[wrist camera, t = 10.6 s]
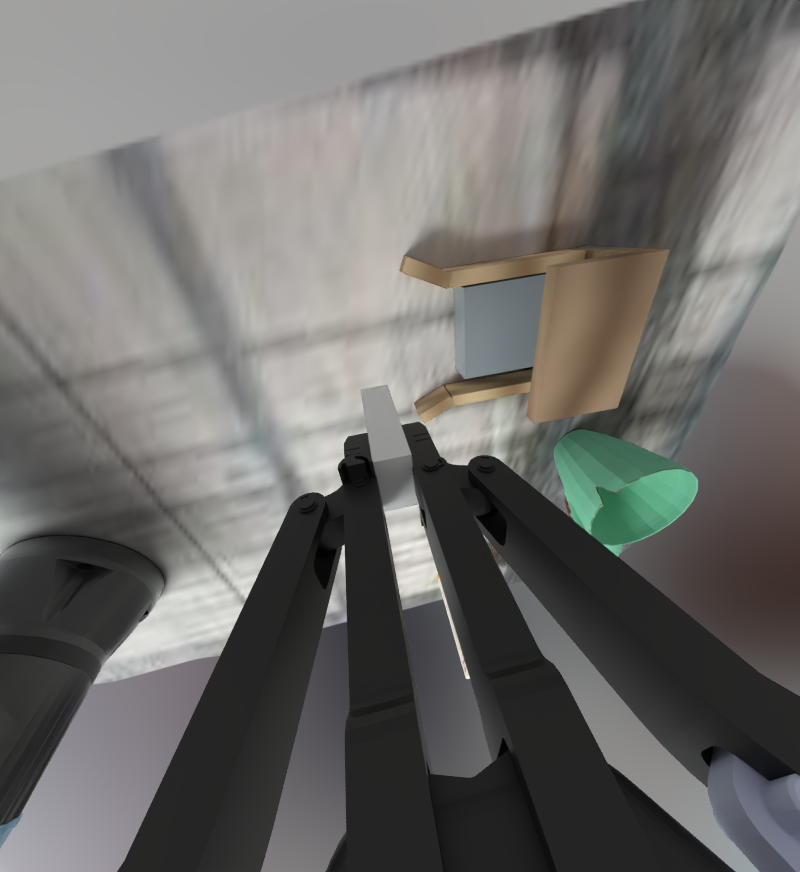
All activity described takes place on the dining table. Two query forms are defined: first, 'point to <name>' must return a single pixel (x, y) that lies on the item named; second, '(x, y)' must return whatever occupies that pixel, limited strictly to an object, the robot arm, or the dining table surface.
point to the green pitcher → (620, 487)
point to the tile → (497, 325)
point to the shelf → (563, 328)
